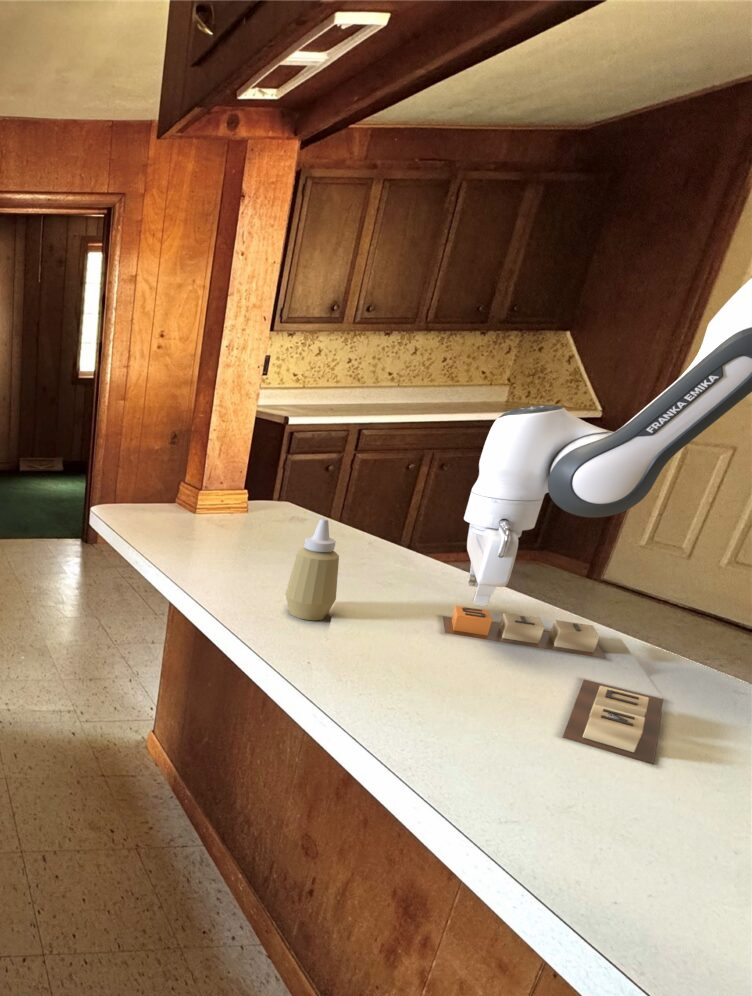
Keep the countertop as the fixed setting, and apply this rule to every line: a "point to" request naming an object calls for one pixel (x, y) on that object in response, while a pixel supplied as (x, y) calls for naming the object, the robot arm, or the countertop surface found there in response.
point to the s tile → (471, 620)
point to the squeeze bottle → (314, 576)
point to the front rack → (615, 721)
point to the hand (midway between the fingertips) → (476, 594)
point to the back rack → (539, 634)
